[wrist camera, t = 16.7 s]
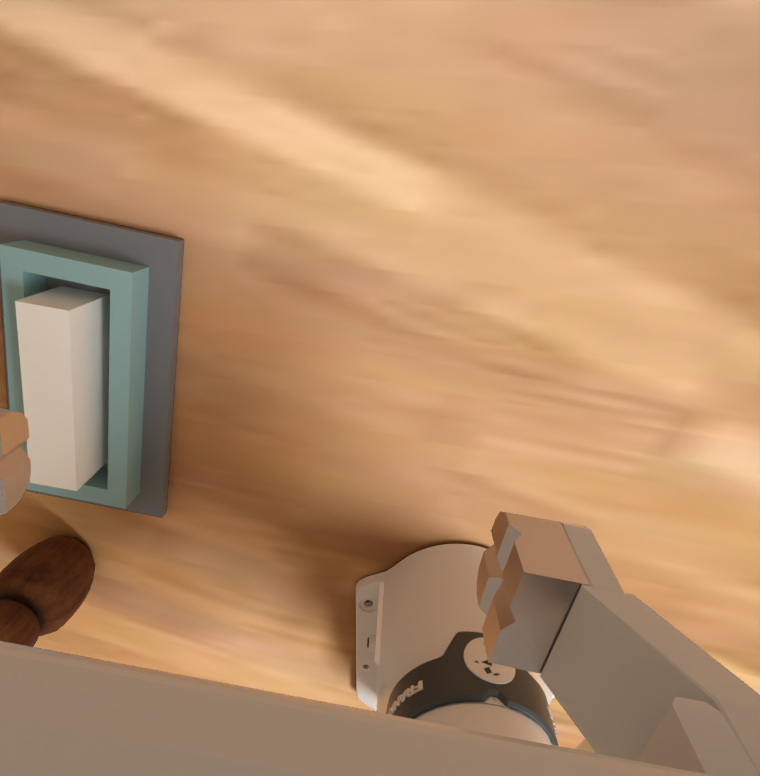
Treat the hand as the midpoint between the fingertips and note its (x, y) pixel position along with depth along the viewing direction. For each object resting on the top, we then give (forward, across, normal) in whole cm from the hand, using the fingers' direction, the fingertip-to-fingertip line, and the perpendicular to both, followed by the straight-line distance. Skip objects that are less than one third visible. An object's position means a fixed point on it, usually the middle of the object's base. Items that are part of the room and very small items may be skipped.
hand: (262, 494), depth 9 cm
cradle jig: (+31, +20, +14) cm, 39 cm away
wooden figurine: (+31, +22, +33) cm, 50 cm away
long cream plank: (+30, +20, +14) cm, 39 cm away
